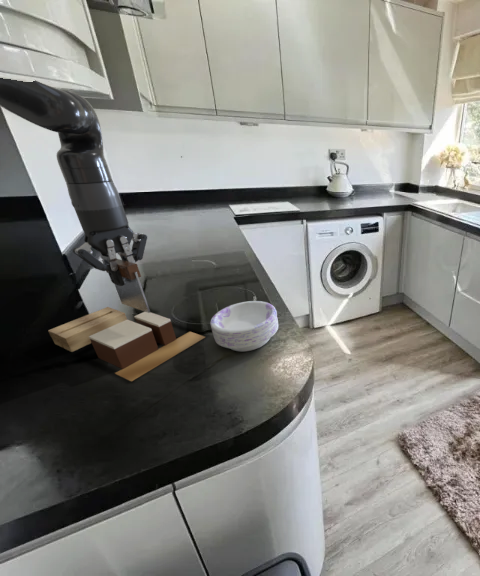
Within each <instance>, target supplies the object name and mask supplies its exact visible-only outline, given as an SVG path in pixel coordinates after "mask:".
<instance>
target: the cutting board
mask: <svg viewBox="0 0 480 576" xmlns="http://www.w3.org/2000/svg"><path fill="white" fill-rule="evenodd" d="M205 338H206V336H204V335H202V334H198V333H195V332H192V331H188V332H186V333H184V334H182V335H180V336H179V337H176V340H175V341H173V342H171V343H169V344H167V345H166V346H165V345H163V346H161V347H158V350H157V351H155V352H153V353H151V354H149V355H148V356H146V357H144V358H142V359H140V360H139V361H137V362H135V363H133V364H131V365H130V366H128V367H126V368H124V369H121V368H120V369H119V370H118V371H116V372H114V375H117V376H119V377H121V378H123V379H125V380H127V381H129V382H133V381H135V380H137V379H138V378H140V377H142V376H143V375H145V374H147V373H148V372H150V371H152V370H153V369H155V368H157V367H158V366H160V365H161V364H163V363H165V362H166V361H169V360H170V359H172V358H173V357H175V356H176V355H179V354H180V353H181V352H182V353H183V352H184V351H185V350H186V349H188V348H190V347H191V346H194V345H195V344H197V343H199V342H200V341H201V340H203V339H205Z"/></svg>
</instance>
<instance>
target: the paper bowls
mask: <svg viewBox="0 0 480 576" xmlns="http://www.w3.org/2000/svg"><path fill="white" fill-rule="evenodd" d="M277 312H278V311H277V309H276V307H275V306H274V305H273V304H271V303H269V302H267V301H261V300H249V301H242V302H241V301H240V302H237V303H233V304H230V305H228V306H226V307H223V308H222V309H220V310H219V311H217V312H216V313H215V314H214V315H213V316H212V317H211V319H210V322H209V324H210V327H211V332H212V336H213V338H214V341H215V344H217V345H218V346H221V347H223V348H226V349H231V350H232V351H234V352H235V351H236V352H250V351H254V350H256V349H257V350H258V349H259V348H261V347H264V345H266V344H267V343H268V342H269V340H270V339H271V338H272V337H274V335H275V334H276V333H277V332H278V330H279V320H278V313H277Z"/></svg>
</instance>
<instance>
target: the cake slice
mask: <svg viewBox="0 0 480 576" xmlns="http://www.w3.org/2000/svg"><path fill="white" fill-rule="evenodd" d="M133 317H134V320H135V323H138V324H140V325H143V326H146V327H149V328H151V329H152V332H153V335H154V338H155V341H156V344H159V345H163V346H164V345H165V346H166V345H167V344H169V343H171V342H173V341H175V340H176V339H177V337H176V333H175V331H174V327H173V323H172V321H171V318H169V317H165V316H162V315H160V314H157V313H154V312H151V311H150V313H147V312H144V311H142V312H141V313H139V314H136V315H134V316H133Z"/></svg>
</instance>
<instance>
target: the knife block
mask: <svg viewBox="0 0 480 576" xmlns="http://www.w3.org/2000/svg"><path fill="white" fill-rule="evenodd" d="M126 315H127V314H126V312H123V311H121V310H119V309H115V308H113V307H109V306H107V307H104V308H101V309H99V310H96V311H94V312H91V313H89V314H85V315H83V316H81V317H78V318H76V319H73V320H71V321H68V322H65V323H64V324H60V325H58V326H56V327H53V328H51V329H48V331H47V332H48V334H49V336H50V337H51V339H52V341H53V343H54V345H56V346H59V347H60V348H62V349H65V350H66V351H69V352H71V353H73V352H75V351H78V350H79V349H81V348H84V347H86V346H88V345H91V344H92V343H91V340H90V338H89V336H91V335H93V334H95V333H98V332H100V331H102V330H104V329H107V328H109V327H111V326H114V325H116V324H118V323H120V322H123V321H125V320H128V318H127V316H126Z"/></svg>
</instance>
